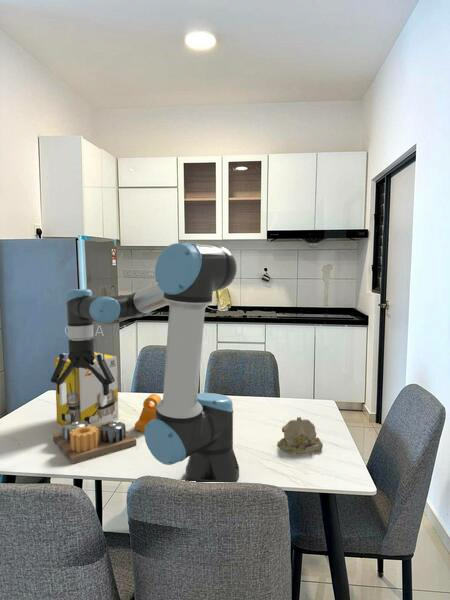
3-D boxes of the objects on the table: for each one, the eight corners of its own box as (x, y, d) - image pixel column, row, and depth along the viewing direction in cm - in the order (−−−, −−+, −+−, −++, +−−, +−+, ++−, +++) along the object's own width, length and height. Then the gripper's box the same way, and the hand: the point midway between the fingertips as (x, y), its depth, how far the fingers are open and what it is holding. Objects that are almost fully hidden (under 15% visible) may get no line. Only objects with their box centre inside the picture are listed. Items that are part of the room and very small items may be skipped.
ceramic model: (280, 455, 126) (280, 424, 125) (275, 439, 137) (276, 411, 136) (325, 454, 126) (325, 423, 125) (316, 439, 137) (317, 411, 136)
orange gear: (91, 452, 124) (90, 436, 123) (65, 450, 125) (64, 435, 124) (102, 440, 132) (102, 426, 131) (78, 439, 133) (78, 424, 133)
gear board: (136, 445, 133) (136, 427, 133) (71, 464, 120) (71, 444, 120) (112, 425, 150) (111, 410, 149) (53, 440, 137) (52, 423, 136)
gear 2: (129, 439, 133) (129, 425, 133) (105, 445, 128) (104, 431, 128) (119, 430, 140) (119, 417, 139) (96, 437, 135) (95, 423, 134)
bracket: (134, 431, 144) (133, 399, 143) (141, 424, 151) (140, 393, 150) (162, 433, 143) (162, 400, 142) (168, 425, 150) (168, 394, 149)
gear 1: (92, 437, 135) (91, 416, 134) (66, 443, 130) (65, 422, 129) (83, 429, 142) (83, 409, 141) (59, 435, 136) (58, 415, 136)
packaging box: (81, 433, 143) (79, 364, 141) (56, 422, 153) (54, 358, 151) (118, 419, 156) (116, 356, 154) (93, 410, 166) (91, 351, 164)
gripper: (123, 336, 128) (125, 401, 129) (50, 336, 131) (53, 399, 132) (114, 340, 120) (116, 409, 122) (37, 340, 124) (40, 407, 125)
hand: (83, 404), depth 127 cm, fingers open, 13 cm apart
